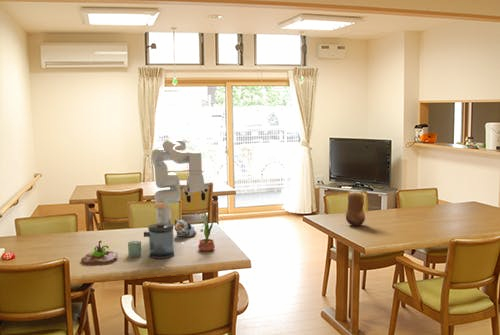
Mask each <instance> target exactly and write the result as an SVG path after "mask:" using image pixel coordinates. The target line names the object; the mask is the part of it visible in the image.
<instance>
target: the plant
mask: <svg viewBox="0 0 500 335" xmlns="http://www.w3.org/2000/svg"><path fill="white" fill-rule="evenodd" d="M101 244H102V240H99V241H98V245H96V246H95V247H94V248H93V250H92V251H90V253H87V254H85V256H83V257H81V260H80V261H81V263H82V265H86V266H93V265H94V266H96V265H98V266H99V265H102V266H105V265H111V264H114V263H115V262H116V261H118V256H119V255H118V252H115V251H109V250H110V249H109V248H110V247H109V245H103V246H102V247H101Z"/></svg>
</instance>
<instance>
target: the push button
mask: <svg viewBox="0 0 500 335" xmlns="http://www.w3.org/2000/svg"><path fill="white" fill-rule="evenodd" d="M156 208H158V216H163V208H166V203H155V204H154V209H156Z"/></svg>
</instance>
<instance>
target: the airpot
mask: <svg viewBox="0 0 500 335" xmlns="http://www.w3.org/2000/svg"><path fill="white" fill-rule="evenodd" d="M147 230H148V231H143V237H144V238H146V237H148V244H149V245H148V246H149V253H148V256H149V258H151V259H152V260H153V259H155V260H164V259H165V260H166V258H167V259H170V257H171V258H173V257H174V256H175V251H174V249H175V246H174V236H173V234H174V230H175V226H174V224H172V223H171V224H168V223H159V224H157V223H154V224H150V225H148V226H147Z"/></svg>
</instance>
